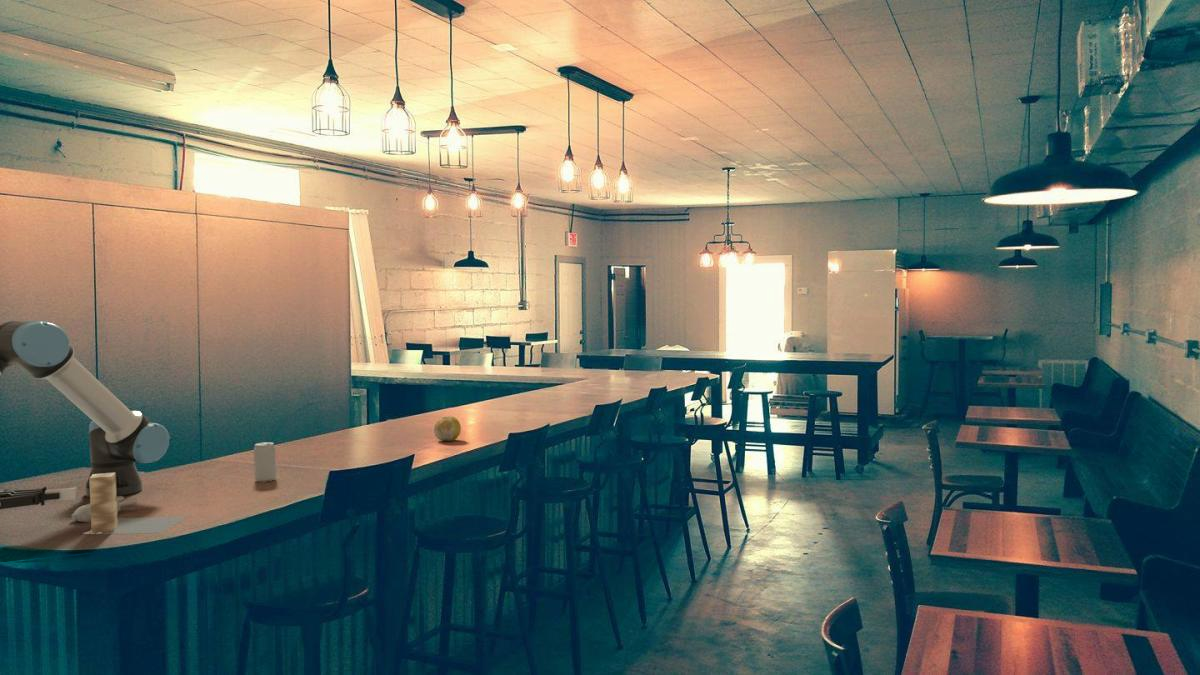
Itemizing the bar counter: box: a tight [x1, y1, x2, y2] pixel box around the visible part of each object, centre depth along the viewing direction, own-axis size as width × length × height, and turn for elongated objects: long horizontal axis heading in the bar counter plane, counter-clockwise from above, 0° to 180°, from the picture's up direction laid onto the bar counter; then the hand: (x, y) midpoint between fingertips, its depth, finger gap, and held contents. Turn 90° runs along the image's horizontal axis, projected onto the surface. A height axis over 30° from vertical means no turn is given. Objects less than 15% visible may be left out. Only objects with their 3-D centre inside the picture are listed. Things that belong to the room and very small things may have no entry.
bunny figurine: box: [71, 495, 138, 523], centre depth 228 cm, size 10×5×15 cm
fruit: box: [433, 415, 462, 442], centre depth 339 cm, size 10×11×10 cm
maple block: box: [89, 473, 118, 533], centre depth 214 cm, size 5×5×14 cm
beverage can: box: [253, 441, 277, 483], centre depth 271 cm, size 6×6×12 cm
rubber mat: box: [100, 516, 189, 535], centre depth 218 cm, size 20×15×1 cm
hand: (75, 493), depth 212 cm, fingers closed
